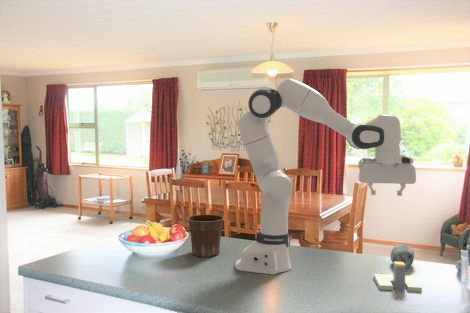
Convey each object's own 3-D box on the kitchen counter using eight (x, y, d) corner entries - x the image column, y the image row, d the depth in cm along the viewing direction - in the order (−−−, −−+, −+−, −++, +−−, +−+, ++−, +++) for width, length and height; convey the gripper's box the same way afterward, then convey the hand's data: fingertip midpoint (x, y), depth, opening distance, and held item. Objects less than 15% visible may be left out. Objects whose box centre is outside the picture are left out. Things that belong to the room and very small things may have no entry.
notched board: (379, 289, 150) (379, 285, 150) (373, 277, 162) (373, 273, 162) (421, 291, 148) (421, 287, 148) (412, 279, 160) (412, 275, 160)
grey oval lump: (418, 264, 167) (407, 240, 170) (395, 273, 170) (384, 249, 173) (420, 263, 179) (409, 240, 183) (398, 271, 182) (387, 248, 186)
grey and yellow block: (395, 289, 150) (395, 264, 150) (393, 286, 153) (393, 261, 153) (404, 290, 150) (405, 264, 149) (402, 286, 153) (403, 261, 152)
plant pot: (187, 248, 199) (187, 214, 198) (222, 247, 201) (222, 213, 200) (187, 259, 183) (187, 221, 182) (225, 258, 185) (225, 221, 184)
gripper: (359, 158, 159) (358, 195, 160) (418, 159, 156) (416, 197, 157) (357, 157, 165) (356, 193, 166) (413, 158, 162) (412, 194, 163)
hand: (386, 195), depth 161 cm, fingers open, 8 cm apart
